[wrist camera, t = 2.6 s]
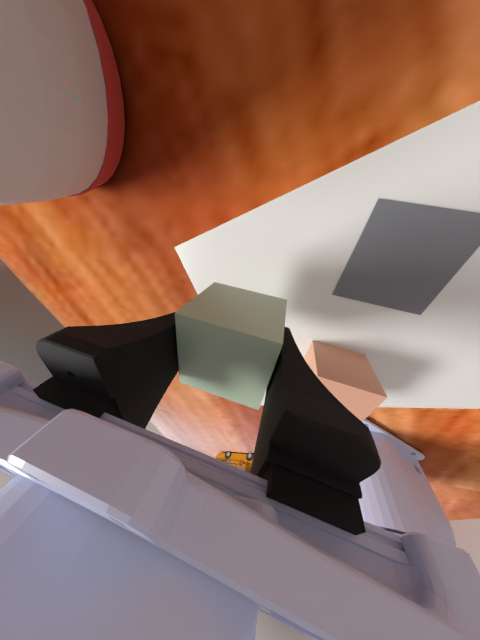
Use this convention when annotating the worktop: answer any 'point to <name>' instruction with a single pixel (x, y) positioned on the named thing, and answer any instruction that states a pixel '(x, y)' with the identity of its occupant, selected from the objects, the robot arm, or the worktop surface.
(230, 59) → the worktop surface
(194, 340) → the green brick
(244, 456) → the toy bus
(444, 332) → the baseplate
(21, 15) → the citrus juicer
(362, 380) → the terracotta brick
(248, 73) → the worktop surface
